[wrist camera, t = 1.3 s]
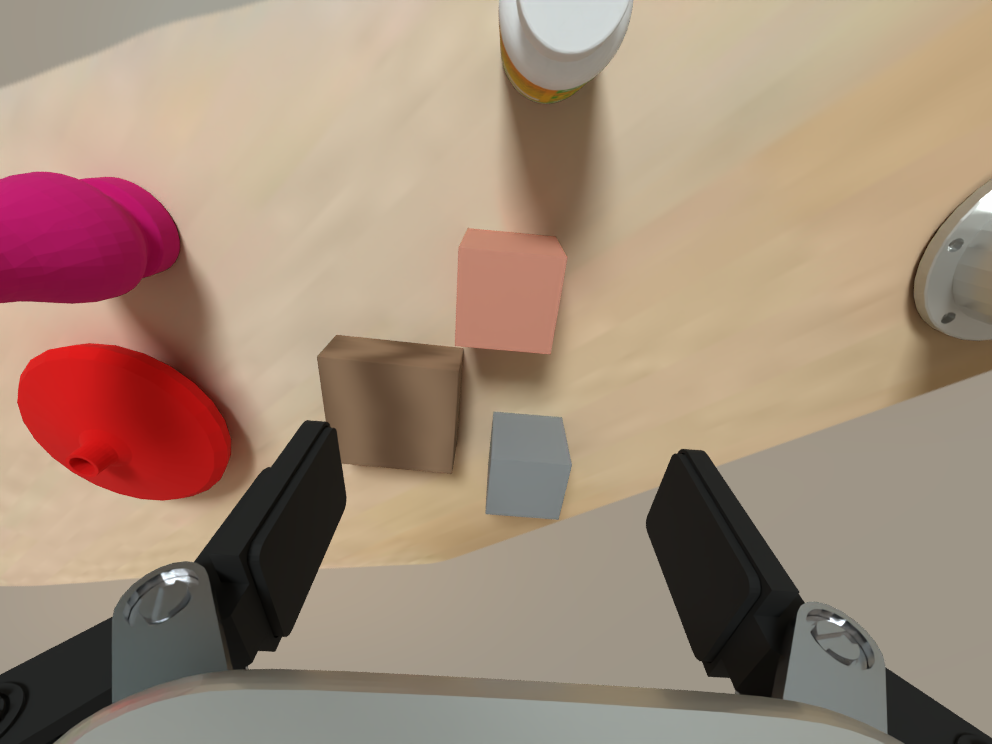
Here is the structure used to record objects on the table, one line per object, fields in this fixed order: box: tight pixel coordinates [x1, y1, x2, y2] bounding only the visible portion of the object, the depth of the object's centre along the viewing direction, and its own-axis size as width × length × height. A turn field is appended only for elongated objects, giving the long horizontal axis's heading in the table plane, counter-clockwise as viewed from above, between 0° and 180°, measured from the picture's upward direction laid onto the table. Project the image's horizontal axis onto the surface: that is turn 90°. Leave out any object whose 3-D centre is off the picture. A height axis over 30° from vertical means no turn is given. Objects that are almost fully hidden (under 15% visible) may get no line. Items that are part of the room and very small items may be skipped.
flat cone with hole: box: [17, 343, 231, 501], centre depth 32 cm, size 16×16×7 cm
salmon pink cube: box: [455, 228, 567, 354], centre depth 26 cm, size 6×6×6 cm
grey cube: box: [486, 412, 572, 520], centre depth 33 cm, size 6×6×6 cm
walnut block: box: [317, 335, 463, 474], centre depth 32 cm, size 10×10×4 cm
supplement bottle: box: [499, 0, 633, 104], centre depth 17 cm, size 5×5×10 cm
